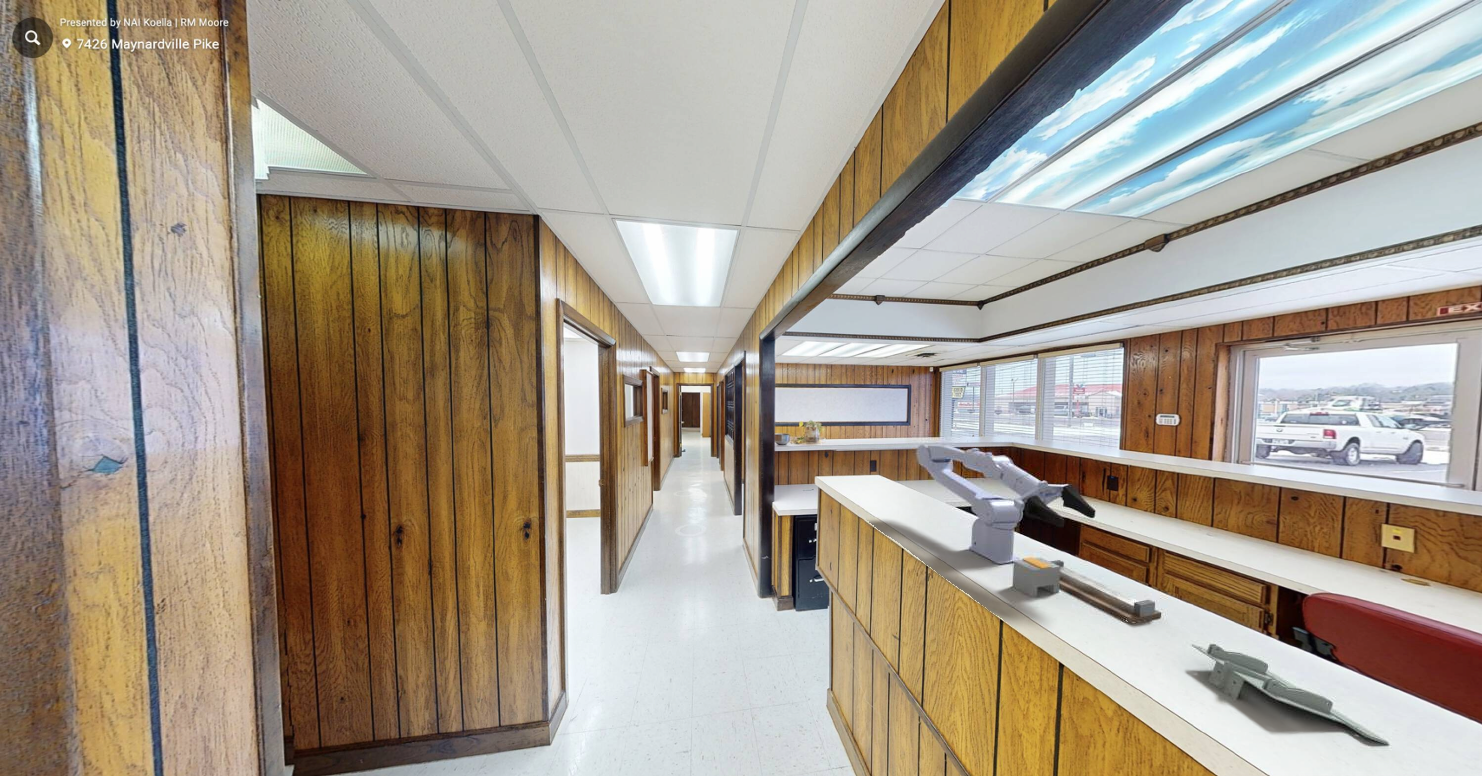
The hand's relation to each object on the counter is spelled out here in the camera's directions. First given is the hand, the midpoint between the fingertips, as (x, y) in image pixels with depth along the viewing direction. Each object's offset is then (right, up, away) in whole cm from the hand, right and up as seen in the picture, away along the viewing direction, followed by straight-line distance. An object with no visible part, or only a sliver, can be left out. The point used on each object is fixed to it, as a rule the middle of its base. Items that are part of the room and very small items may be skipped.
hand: (1078, 519), depth 83 cm
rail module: (-6, -18, +4) cm, 19 cm away
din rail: (+6, -18, +2) cm, 19 cm away
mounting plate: (+6, -18, +2) cm, 19 cm away
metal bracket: (+8, -20, -24) cm, 32 cm away
